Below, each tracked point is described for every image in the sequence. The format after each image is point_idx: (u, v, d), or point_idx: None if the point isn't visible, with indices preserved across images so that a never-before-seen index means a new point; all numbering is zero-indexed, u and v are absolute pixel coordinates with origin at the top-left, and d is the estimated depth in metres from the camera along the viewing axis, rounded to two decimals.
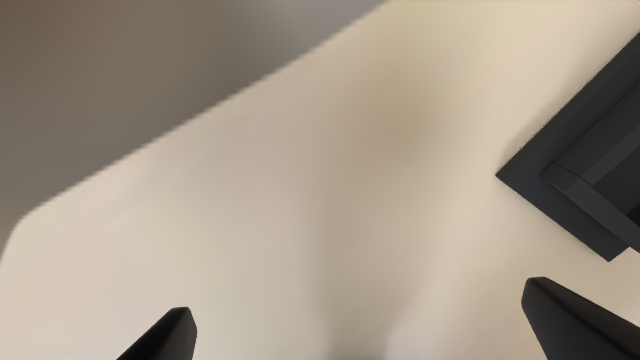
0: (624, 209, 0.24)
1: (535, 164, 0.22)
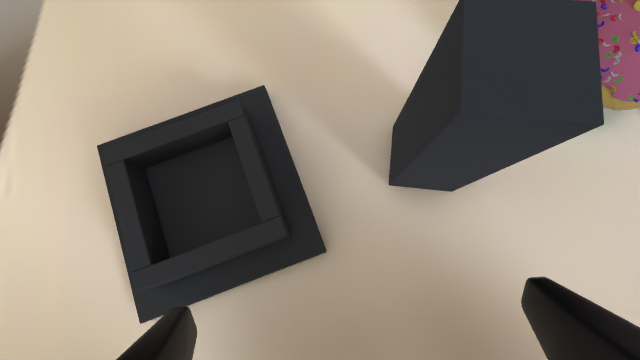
0: (259, 219, 0.22)
1: None
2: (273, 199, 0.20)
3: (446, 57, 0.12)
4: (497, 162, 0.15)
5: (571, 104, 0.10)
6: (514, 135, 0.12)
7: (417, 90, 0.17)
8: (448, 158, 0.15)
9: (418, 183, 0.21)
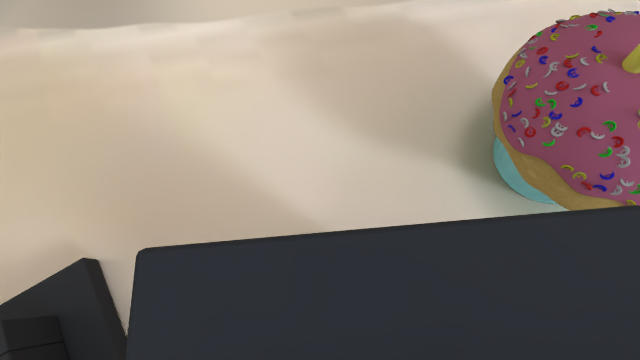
0: None
1: None
2: None
3: None
4: None
5: None
6: None
7: None
8: None
9: None
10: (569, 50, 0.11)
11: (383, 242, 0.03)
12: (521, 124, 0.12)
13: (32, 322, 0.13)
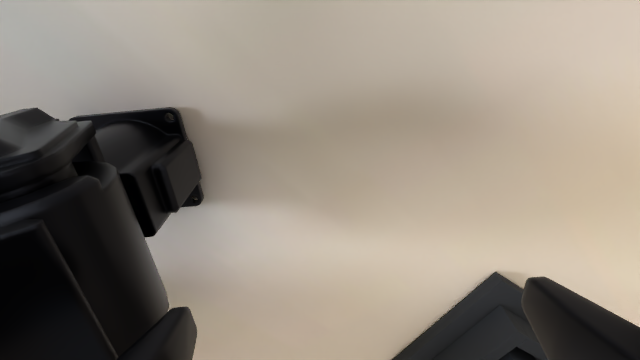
0: None
1: (511, 299, 0.25)
2: None
3: None
4: None
5: None
6: None
7: None
8: None
9: None
10: None
11: None
12: None
13: None
